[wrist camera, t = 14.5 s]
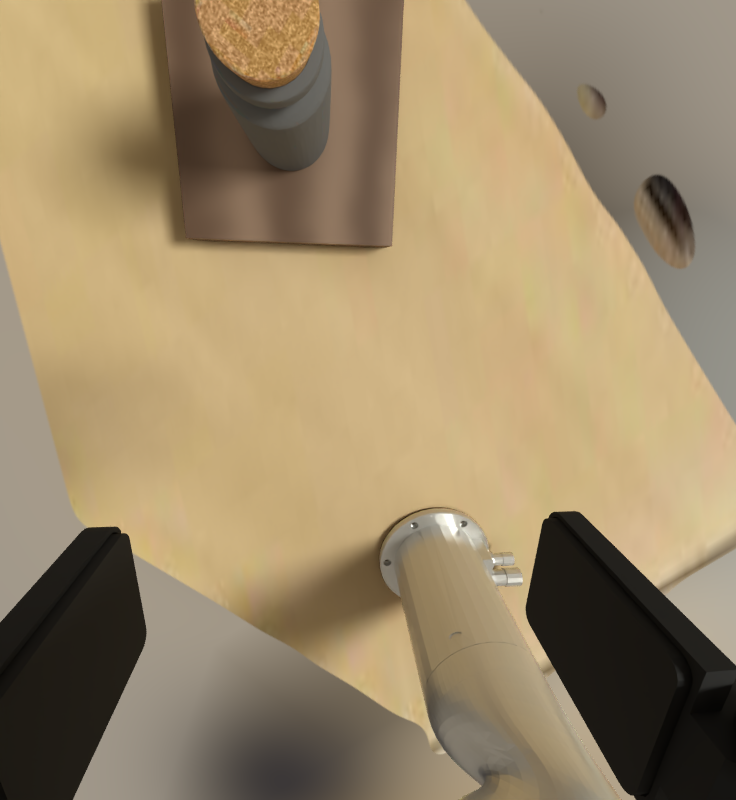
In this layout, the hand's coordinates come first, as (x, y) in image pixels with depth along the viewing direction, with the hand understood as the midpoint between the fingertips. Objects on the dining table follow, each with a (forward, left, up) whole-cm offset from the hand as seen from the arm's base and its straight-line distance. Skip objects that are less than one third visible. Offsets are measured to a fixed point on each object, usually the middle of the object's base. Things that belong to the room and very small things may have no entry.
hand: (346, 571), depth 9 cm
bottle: (+3, -16, -28) cm, 32 cm away
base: (+3, -16, -30) cm, 34 cm away
